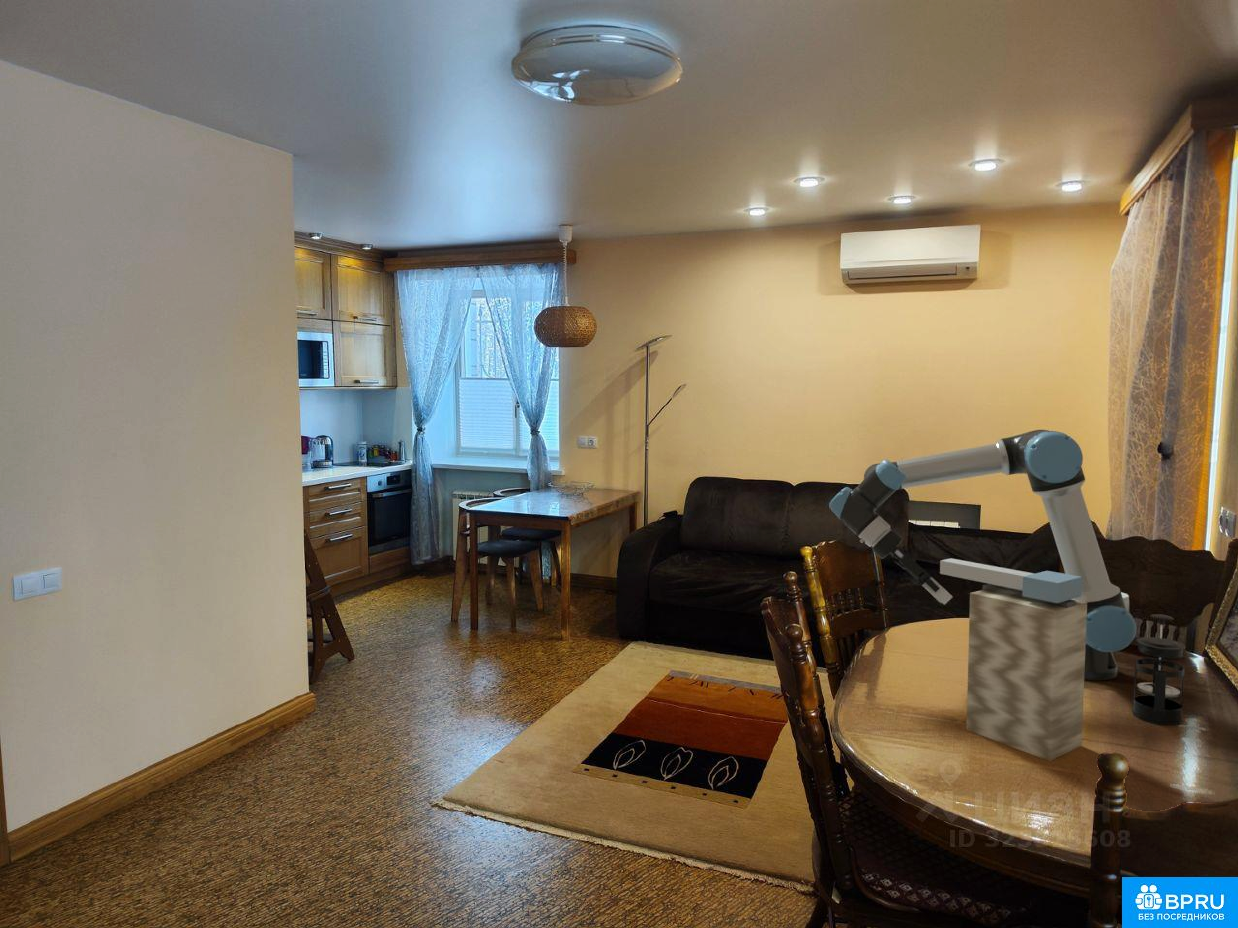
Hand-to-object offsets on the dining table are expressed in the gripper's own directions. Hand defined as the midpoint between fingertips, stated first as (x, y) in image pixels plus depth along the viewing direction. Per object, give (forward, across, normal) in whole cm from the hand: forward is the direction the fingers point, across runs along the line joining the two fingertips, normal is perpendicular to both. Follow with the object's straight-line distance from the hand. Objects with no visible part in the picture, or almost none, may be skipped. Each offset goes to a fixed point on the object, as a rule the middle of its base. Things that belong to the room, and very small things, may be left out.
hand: (946, 600), depth 196 cm
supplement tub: (+41, -52, +24) cm, 70 cm away
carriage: (+4, +26, +9) cm, 28 cm away
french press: (+47, +3, +13) cm, 49 cm away
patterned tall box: (+28, +22, -11) cm, 38 cm away
